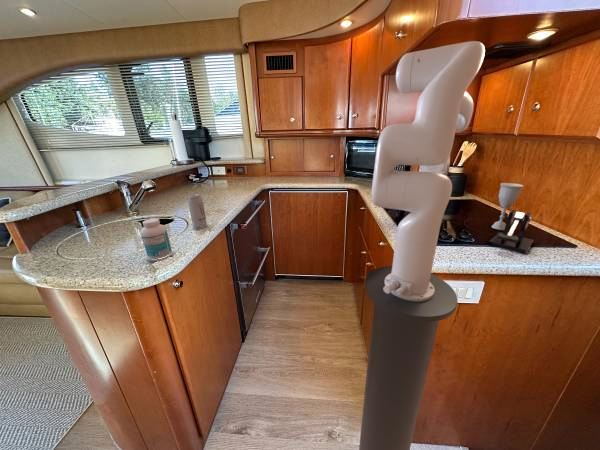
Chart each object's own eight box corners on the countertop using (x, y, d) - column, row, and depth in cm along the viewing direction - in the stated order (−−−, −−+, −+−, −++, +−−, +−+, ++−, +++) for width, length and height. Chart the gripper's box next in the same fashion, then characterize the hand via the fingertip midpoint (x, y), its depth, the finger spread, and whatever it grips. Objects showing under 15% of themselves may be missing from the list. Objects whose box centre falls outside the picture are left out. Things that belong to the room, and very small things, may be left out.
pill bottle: (157, 252, 86) (148, 216, 81) (177, 252, 85) (168, 216, 81) (143, 262, 79) (131, 224, 74) (163, 262, 78) (153, 224, 74)
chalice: (485, 224, 102) (496, 182, 96) (502, 224, 101) (515, 182, 95) (495, 230, 96) (507, 186, 89) (514, 231, 94) (528, 186, 88)
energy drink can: (203, 229, 106) (197, 196, 101) (190, 229, 107) (184, 196, 101) (209, 224, 112) (204, 193, 106) (197, 224, 112) (191, 193, 107)
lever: (516, 244, 76) (517, 239, 75) (497, 239, 80) (498, 235, 78) (529, 219, 80) (530, 214, 78) (510, 215, 83) (511, 210, 82)
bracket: (525, 254, 77) (537, 220, 73) (488, 244, 84) (497, 213, 80) (533, 243, 84) (544, 212, 80) (498, 235, 91) (506, 206, 87)
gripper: (414, 146, 98) (409, 190, 104) (454, 147, 87) (445, 195, 94) (423, 145, 102) (417, 187, 109) (462, 145, 91) (453, 192, 98)
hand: (430, 191), depth 101 cm, fingers closed
